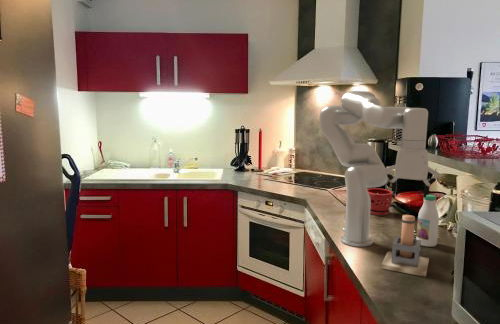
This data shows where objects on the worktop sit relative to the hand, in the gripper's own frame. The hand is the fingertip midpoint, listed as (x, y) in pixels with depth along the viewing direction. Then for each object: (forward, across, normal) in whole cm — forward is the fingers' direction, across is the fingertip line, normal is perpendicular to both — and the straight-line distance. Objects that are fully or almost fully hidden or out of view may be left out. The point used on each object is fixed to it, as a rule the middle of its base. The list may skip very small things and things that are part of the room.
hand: (409, 195), depth 137 cm
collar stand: (+25, 0, 0) cm, 25 cm away
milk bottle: (+25, +5, +27) cm, 38 cm away
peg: (+23, 0, 0) cm, 23 cm away
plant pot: (+26, -20, +66) cm, 73 cm away
